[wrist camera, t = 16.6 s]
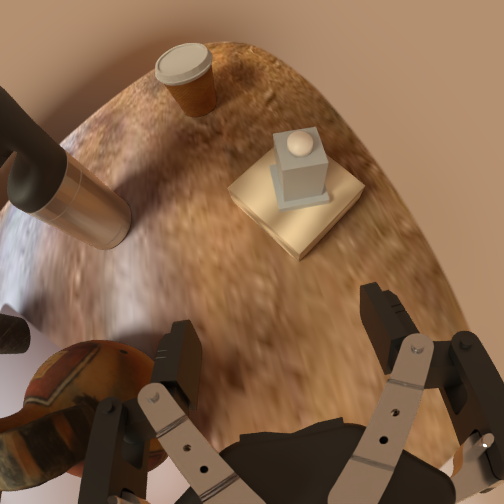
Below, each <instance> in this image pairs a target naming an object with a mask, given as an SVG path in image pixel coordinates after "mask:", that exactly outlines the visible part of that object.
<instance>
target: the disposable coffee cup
mask: <svg viewBox="0 0 504 504" xmlns="http://www.w3.org/2000/svg"><path fill="white" fill-rule="evenodd" d="M212 59H213V57H212V53H211V52H210V51H209V50H208V49H207V48H206V47H205V46H204V45H202V44H199V43H187V44H182V45H179V46H176V47H174V48H172V49H170V50H168V51H167V52H165V53H164V54H163V55H162V56H161V57H160V58H159V59H158V61H157V62H156V66H155V69H156V71H155V76H156V78H157V79H158V80H159V81H160V82H162V83H163V84H164V85H165V86H166V87H167V89H168V90H169V91H170V93H171V94H172V96H173V97H174V98H175V100H176V101H177V103H178V104H179V105H180V107H181V108H182V109H183V111H184V112H185V113H186V114H187V115H188V116H191V117H199V116H203V115H206V114H208V113H209V112H211V111H212V110H213V109H214V107H215V106H216V101H217V100H216V94H215V87H214V80H213V73H212V65H211V64H212Z"/></svg>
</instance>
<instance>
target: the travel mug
mask: <svg viewBox="0 0 504 504" xmlns="http://www.w3.org/2000/svg"><path fill="white" fill-rule="evenodd" d="M29 345H30V330H29V327H28V324H27V323H26V321H25V320H24V319H22V318H19V317H14V316H9V315H4V314H0V354H18V353H24V352H26V351H27V350H28V348H29Z"/></svg>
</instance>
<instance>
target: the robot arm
mask: <svg viewBox="0 0 504 504" xmlns="http://www.w3.org/2000/svg"><path fill="white" fill-rule="evenodd" d="M13 151H16V152H17V155H16V158H15V160H14V163H13V166H12V168H11V171H10V174H9V178H8V184H7V193H8V197H9V200H10V202H11V203H12V204H13V205H14V206H15V207H17V208H18V209H20V210H22V211H24V212H26V213H28V214H29V215H31V216H33V217H35V218H37V219H39V220H41V221H43V222H45V223H47V224H49V225H51V226H53V227H55V228H57V229H59V230H61V231H63V232H65V233H67V234H69V235H71V236H73V237H75V238H77V239H79V240H81V241H83V242H85V243H87V244H89V245H91V246H94V247H96V248H98V249H102V250H107V249H110V248H113V247H115V246H116V245H118V244H119V243H120V242H121V241H122V240H123V239H124V237H125V236H126V234H127V232H128V230H129V228H130V224H131V210H130V207H129V205H128V204H127V203H126V202H125V201H124V200H123V199H122V198H121V197H119V196H118V195H117V194H116V193H115V192H114V191H112V190H111V189H110V188H109V187H108V186H106V185H105V184H104V183H103V182H102V181H100V180H99V179H98V178H97V177H96V176H95V175H93V174H92V173H91V172H90V171H89V170H88V169H86V168H85V167H84V166H83V165H82V164H81V163H79V162H78V161H77V160H76V159H75V158H73V157H72V156H71V155H70V154H69V153H68V152H67V151H65V150H64V149H63V148H62V147H61V146H60V145H59V144H57V143H56V142H55V141H54V140H53V139H52V138H51V137H50V136H49V135H48V134H47V133H46V132H45V131H44V130H43V129H42V128H41V127H40V126H39V125H37V124H36V123H35V122H34V121H33V120H32V119H31V118H30V117H29V116H28V114H27V113H26V112H25V111H24V110H23V109H22V108H21V107H20V106H19V105H18V104H17V102H16V101H15V100H14V99H13V98H12V97H11V96H10V95H9V94H8V93H7V92H6V91H5V89H3V88H2V87H1V86H0V168H1V166H2V165H3V164H4V162H5V161H6V160H7V159H8V157H9V156H10V155H11V154H12V153H13ZM360 316H361V320H362V323H363V325H364V327H365V330H366V332H367V334H368V336H369V339H370V341H371V343H372V346H373V348H374V350H375V353H376V355H377V357H378V360H379V362H380V364H381V367H382V369H383V372H384V374H385V375H387V374H390V373H391V376H390V378H389V379H388V380H387V382H386V385H385V387H384V390H383V392H382V394H381V397H380V399H379V401H378V404H377V406H376V408H375V411H374V413H373V415H372V417H371V419H370V421H369V423H368V426H367V427H366V426H362V425H359V424H353V423H344V422H343V418H342V417H340V418H336V419H332V420H327V421H323V422H318V423H315V424H313V425H311V426H309V427H306V428H304V429H302V430H299V431H297V432H294V433H274V432H259V433H251V434H241V435H240V441H239V442H236V443H234V444H232V445H230V446H228V447H226V448H225V449H224V450H222V451H221V452H220V453H218V452H217V451H216V450H215V449H214V447H213V446H212V445H211V444H210V443H209V442H208V441H207V439H206V438H205V437H204V436H203V435H202V433H201V432H200V431H199V430H198V429H197V427H196V426H195V425H194V424H193V422H192V421H191V420H190V419H189V417H188V411H189V410H194V409H197V400H198V390H199V380H200V370H201V361H202V346H201V342H200V340H199V338H198V336H197V334H196V332H195V330H194V327H193V325H192V323H191V321H190V320H183V321H177V322H173V325H172V329H171V333H168V334H165V335H164V337H163V338H162V339H161V341H160V343H159V347H158V352H157V355H156V359H155V363H154V367H153V371H152V375H151V379H150V383H149V384H148V385H146V386H145V387H143V388H142V389H141V391H140V392H139V394H138V397H136V398H133V399H130V400H127V401H124V402H121V401H120V400H119V399H118V398H117V397H107V398H105V399H103V400H102V401H101V402H100V403H99V404H98V406H97V409H96V413H95V417H94V421H93V425H92V429H91V434H90V438H89V443H88V448H87V452H86V457H85V463H84V468H83V473H82V479H81V485H80V492H79V499H78V504H150V503H149V502H148V501H146V489H147V488H146V487H147V474H148V462H149V451H150V440H151V439H153V438H157V439H158V440H159V442H160V443H161V445H162V446H163V448H164V449H165V451H166V452H167V454H168V455H169V457H170V458H171V459H172V461H173V463H174V464H175V465H176V467H177V468H178V470H179V471H180V472H181V474H182V475H183V476H184V478H185V479H186V480H187V482H188V483H189V484H190V487H189V488H188V489H187V490H186V492H185V493H184V494H183V495H182V496H181V497H180V498H179V499H178V500H177V501H176V502H175V503H174V504H457V503H459V502H461V501H463V500H465V499H467V498H469V497H471V496H473V495H475V494H477V493H486V492H489V491H491V490H492V489H494V488H496V487H497V486H499V485H500V484H502V483H504V382H503V381H502V379H501V377H500V375H499V373H498V371H497V369H496V367H495V366H494V364H493V362H492V360H491V359H490V357H489V355H488V353H487V352H486V350H485V348H484V347H483V345H482V343H481V342H480V340H479V338H478V337H477V336H476V335H475V334H474V333H472V332H469V331H460V332H457V333H456V334H455V335H454V336H453V338H452V340H451V341H432V340H431V339H430V338H429V337H428V336H426V335H424V334H420V333H419V331H418V329H417V328H416V326H415V324H414V323H413V321H412V319H411V318H410V316H409V315H408V313H407V311H405V308H404V306H403V305H402V304H401V302H400V300H399V299H398V297H397V296H396V295H395V294H393V293H392V292H391V291H389V290H386V291H383V292H382V290H381V289H380V287H379V285H378V284H377V283H376V282H373V283H369V284H365V285H361V286H360ZM430 388H439V390H440V393H441V395H442V398H443V400H444V403H445V405H446V408H447V410H448V413H449V416H450V418H451V421H452V424H453V427H454V429H455V432H456V435H457V438H458V441H459V444H460V447H459V448H458V450H457V451H456V452H455V454H454V458H453V465H454V470H453V474H452V476H451V477H449V476H447V474H445V473H444V472H442V471H440V470H439V469H437V468H435V467H433V466H431V465H430V464H428V463H426V462H424V461H423V460H421V459H419V458H417V457H416V456H414V455H412V454H411V453H409V452H407V451H406V450H404V449H403V448H404V445H405V443H406V440H407V438H408V435H409V432H410V430H411V427H412V424H413V422H414V419H415V416H416V413H417V410H418V407H419V404H420V401H421V398H422V394H423V391H424V389H430Z"/></svg>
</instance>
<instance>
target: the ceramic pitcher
mask: <svg viewBox="0 0 504 504" xmlns="http://www.w3.org/2000/svg"><path fill="white" fill-rule="evenodd" d="M154 363H155V362H154V361H153V360H151V359H150V358H149V357H148V356H147V355H146V354H144V353H143V352H141V351H140V350H138V349H136V348H134V347H131V346H128V345H126V344H122V343H118V342H114V341H108V340H90V341H85V342H80V343H77V344H74V345H72V346H70V347H67V348H65V349H63V350H61V351H59V352H57V353H55V354H54V355H52V356H51V357H50V358H49V359H48V360H46V361H45V363H43V364H42V365H41V366H40V367H39V369H38V370H37V372H36V373H35V375H34V377H33V378H32V380H31V381H30V383H29V386H28V388H27V390H26V393H25V398H24V403H23V408H22V409H21V410H20V411H19V412H17V413H15V414H13V415H11V416H8V417H4V418H0V500H1V494H2V491H18V490H23V489H29V488H33V487H36V486H40V485H42V484H44V483H45V482H47V481H49V480H51V479H54V478H56V477H58V476H60V475H62V474H64V473H65V472H67V473H70V474H72V475H75V476H78V477H81V478H82V473H83V468H84V463H85V457H86V452H87V448H88V443H89V438H90V434H91V429H92V425H93V421H94V417H95V413H96V409H97V406H98V404H99V403H100V402H101V401H102V400H103V399H105V398H107V397H117V398H118V399H119V400H120V401H121V402H124V401H127V400H130V399H133V398H136V397H138V394H139V392H140V391H141V389H142V388H143V387H145V386H146V385H148V384H149V383H150V379H151V375H152V371H153V367H154ZM168 456H169V455H168V454H167V452H166V451H165V449H164V448H163V446H162V445H161V443H160V442H159V440H158V439H157V438H153V439H151V440H150V451H149V462H148V472H149V471H151V470H153V469H155V468H156V467H158V466H159V465H160V464H161V463H163V462H164V461H165V460H166V459H167V457H168Z"/></svg>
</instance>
